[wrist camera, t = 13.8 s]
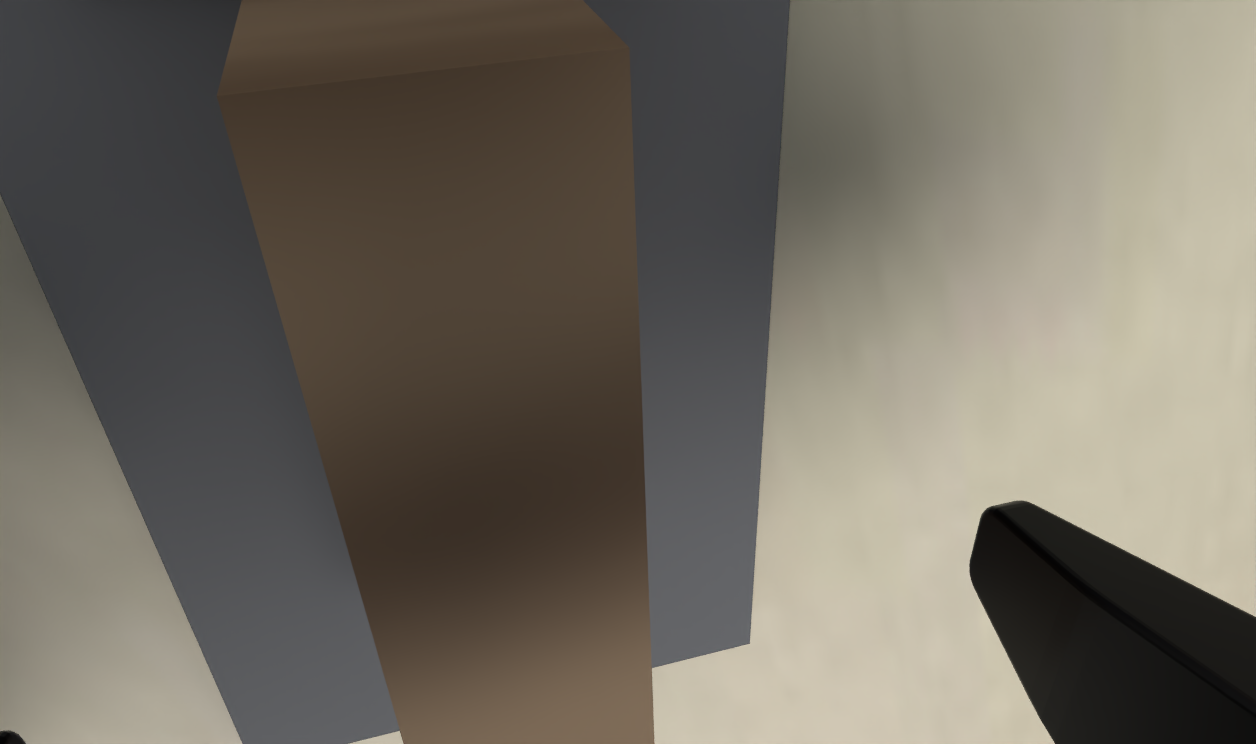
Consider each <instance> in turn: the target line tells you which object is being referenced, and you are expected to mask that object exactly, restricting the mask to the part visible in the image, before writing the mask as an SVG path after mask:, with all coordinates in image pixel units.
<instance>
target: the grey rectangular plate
mask: <svg viewBox="0 0 1256 744" xmlns="http://www.w3.org/2000/svg"><path fill="white" fill-rule="evenodd" d="M241 1H242V0H0V194H1V196H2V199H3V201H4V203H5V206H6V208H7V210H8V212H9V215H10V217H11V219H12V221H13V224H14V226H15V228H16V231H17V233H18V235H19V237H20V240H21V242H22V244H23V246H24V249H25V251H26V253H27V255H28V258H29V260H30V262H31V265H32V267H33V269H34V271H35V274H36V276H37V278H38V280H39V283H40V285H41V287H42V290H43V292H44V294H45V296H46V299H47V301H48V303H49V305H50V308H51V310H52V312H53V314H54V317H55V319H56V321H57V324H58V326H59V328H60V330H61V333H62V335H63V337H64V339H65V342H66V344H67V346H68V349H69V351H70V353H71V355H72V358H73V360H74V362H75V364H76V367H77V369H78V371H79V373H80V376H81V378H82V380H83V383H84V385H85V387H86V389H87V392H88V394H89V396H90V398H91V401H92V403H93V405H94V408H95V410H96V412H97V414H98V417H99V419H100V421H101V423H102V426H103V428H104V430H105V432H106V435H107V437H108V439H109V442H110V444H111V446H112V448H113V451H114V453H115V455H116V457H117V460H118V462H119V464H120V466H121V469H122V471H123V473H124V476H125V478H126V480H127V482H128V485H129V487H130V489H131V491H132V494H133V496H134V498H135V501H136V503H137V505H138V507H139V510H140V512H141V514H142V516H143V519H144V521H145V523H146V525H147V528H148V530H149V532H150V535H151V537H152V539H153V541H154V544H155V546H156V548H157V550H158V553H159V555H160V557H161V560H162V562H163V564H164V566H165V569H166V571H167V573H168V575H169V578H170V580H171V582H172V584H173V587H174V589H175V591H176V594H177V596H178V598H179V600H180V603H181V605H182V607H183V609H184V612H185V614H186V616H187V619H188V621H189V623H190V625H191V628H192V630H193V632H194V634H195V637H196V639H197V641H198V643H199V646H200V648H201V650H202V653H203V655H204V657H205V659H206V662H207V664H208V666H209V668H210V671H211V673H212V675H213V678H214V680H215V682H216V684H217V687H218V689H219V691H220V693H221V696H222V698H223V700H224V702H225V705H226V707H227V709H228V712H229V714H230V716H231V718H232V721H233V723H234V725H235V727H236V730H237V732H238V734H239V736H240V739H241V741H242V743H243V744H348V743H352V742H356V741H360V740H364V739H368V738H372V737H376V736H380V735H384V734H388V733H392V732H396V731H400V729H399V726H398V722H397V719H396V716H395V712H394V709H393V705H392V702H391V698H390V695H389V691H388V688H387V684H386V681H385V677H384V674H383V670H382V667H381V664H380V660H379V657H378V653H377V650H376V646H375V643H374V639H373V636H372V632H371V629H370V625H369V622H368V619H367V615H366V612H365V608H364V605H363V601H362V598H361V594H360V591H359V587H358V584H357V580H356V577H355V574H354V570H353V567H352V563H351V560H350V556H349V553H348V549H347V546H346V542H345V539H344V535H343V532H342V528H341V525H340V522H339V518H338V515H337V511H336V508H335V504H334V501H333V497H332V494H331V490H330V487H329V483H328V480H327V477H326V473H325V470H324V466H323V463H322V459H321V456H320V452H319V449H318V445H317V442H316V438H315V435H314V432H313V428H312V425H311V421H310V418H309V414H308V411H307V407H306V404H305V400H304V397H303V393H302V390H301V386H300V383H299V380H298V376H297V373H296V369H295V366H294V362H293V359H292V355H291V352H290V348H289V345H288V341H287V338H286V335H285V331H284V328H283V324H282V321H281V317H280V314H279V310H278V307H277V303H276V300H275V296H274V293H273V290H272V286H271V283H270V279H269V276H268V272H267V269H266V265H265V262H264V258H263V255H262V251H261V248H260V244H259V241H258V238H257V234H256V231H255V227H254V224H253V220H252V217H251V213H250V210H249V206H248V203H247V199H246V196H245V193H244V189H243V186H242V182H241V179H240V175H239V172H238V168H237V165H236V161H235V158H234V154H233V151H232V148H231V144H230V141H229V137H228V134H227V130H226V127H225V123H224V120H223V116H222V113H221V109H220V106H219V102H218V99H217V93H218V89H219V85H220V81H221V78H222V74H223V70H224V66H225V62H226V58H227V55H228V51H229V47H230V43H231V39H232V36H233V32H234V28H235V24H236V20H237V16H238V13H239V9H240V5H241ZM583 1H584V2H585V3H586V4H587V5H588V6H589V7H590V8H591V9H592V10H593V11H594V12H595V13H596V14H597V15H598V16H599V17H600V18H601V19H602V20H603V21H604V22H605V23H606V24H607V25H608V26H609V27H610V28H611V29H612V30H613V31H614V32H615V33H616V34H617V35H618V36H619V37H620V38H621V40H622V41H623V42H624V43H625V44H626V45H627V46H628V47H629V49H630V77H631V105H632V133H633V161H634V189H635V217H636V245H637V273H638V301H639V329H640V357H641V385H642V413H643V441H644V469H645V497H646V525H647V553H648V581H649V609H650V637H651V665H652V668H654V667H658V666H662V665H666V664H670V663H674V662H678V661H682V660H686V659H690V658H694V657H698V656H702V655H706V654H710V653H714V652H718V651H722V650H726V649H730V648H734V647H738V646H742V645H746V644H750V629H751V613H752V597H753V581H754V565H755V549H756V533H757V517H758V501H759V485H760V469H761V453H762V437H763V421H764V405H765V389H766V373H767V357H768V341H769V325H770V309H771V293H772V277H773V261H774V245H775V229H776V213H777V197H778V181H779V165H780V149H781V133H782V117H783V101H784V85H785V69H786V53H787V37H788V21H789V5H790V0H583Z"/></svg>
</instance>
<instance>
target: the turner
mask: <svg viewBox="0 0 1256 744" xmlns="http://www.w3.org/2000/svg"><path fill="white" fill-rule="evenodd" d="M217 99H218V102H219V106H220V109H221V113H222V116H223V120H224V123H225V127H226V130H227V134H228V137H229V141H230V144H231V148H232V151H233V154H234V158H235V161H236V165H237V168H238V172H239V175H240V179H241V182H242V186H243V189H244V193H245V196H246V199H247V203H248V206H249V210H250V213H251V217H252V220H253V224H254V227H255V231H256V234H257V238H258V241H259V244H260V248H261V251H262V255H263V258H264V262H265V265H266V269H267V272H268V276H269V279H270V283H271V286H272V290H273V293H274V296H275V300H276V303H277V307H278V310H279V314H280V317H281V321H282V324H283V328H284V331H285V335H286V338H287V341H288V345H289V348H290V352H291V355H292V359H293V362H294V366H295V369H296V373H297V376H298V380H299V383H300V386H301V390H302V393H303V397H304V400H305V404H306V407H307V411H308V414H309V418H310V421H311V425H312V428H313V432H314V435H315V438H316V442H317V445H318V449H319V452H320V456H321V459H322V463H323V466H324V470H325V473H326V477H327V480H328V483H329V487H330V490H331V494H332V497H333V501H334V504H335V508H336V511H337V515H338V518H339V522H340V525H341V528H342V532H343V535H344V539H345V542H346V546H347V549H348V553H349V556H350V560H351V563H352V567H353V570H354V574H355V577H356V580H357V584H358V587H359V591H360V594H361V598H362V601H363V605H364V608H365V612H366V615H367V619H368V622H369V625H370V629H371V632H372V636H373V639H374V643H375V646H376V650H377V653H378V657H379V660H380V664H381V667H382V670H383V674H384V677H385V681H386V684H387V688H388V691H389V695H390V698H391V702H392V705H393V709H394V712H395V716H396V719H397V722H398V726H399V729H400V733H401V736H402V740H403V743H404V744H654V721H653V693H652V665H651V637H650V609H649V581H648V553H647V525H646V497H645V469H644V441H643V413H642V385H641V357H640V329H639V301H638V273H637V245H636V217H635V189H634V161H633V133H632V105H631V77H630V49H629V47H628V46H627V45H626V44H625V43H624V42H623V41H622V40H621V38H620V37H619V36H618V35H617V34H616V33H615V32H614V31H613V30H612V29H611V28H610V27H609V26H608V25H607V24H606V23H605V22H604V21H603V20H602V19H601V18H600V17H599V16H598V15H597V14H596V13H595V12H594V11H593V10H592V9H591V8H590V7H589V6H588V5H587V4H586V3H585V2H584V1H583V0H242V1H241V5H240V9H239V13H238V16H237V20H236V24H235V28H234V32H233V36H232V39H231V43H230V47H229V51H228V55H227V58H226V62H225V66H224V70H223V74H222V78H221V81H220V85H219V89H218V93H217Z"/></svg>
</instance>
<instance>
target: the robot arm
mask: <svg viewBox="0 0 1256 744" xmlns="http://www.w3.org/2000/svg"><path fill="white" fill-rule="evenodd" d="M969 567H970V577H971V581H972V584H973V586H974V589H975V591H976V593H977V595H978V597H979V599H980V601H981V603H982V605H983V607H984V609H985V611H986V613H987V615H988V617H989V619H990V621H991V623H992V625H993V627H994V629H995V631H996V633H997V635H998V637H999V639H1000V641H1001V643H1002V645H1003V647H1004V649H1005V651H1006V653H1007V655H1008V657H1009V659H1010V661H1011V663H1012V665H1013V667H1014V669H1015V671H1016V673H1017V675H1018V677H1019V679H1020V681H1021V683H1022V685H1023V687H1024V689H1025V691H1026V693H1027V695H1028V697H1029V699H1030V701H1031V703H1032V704H1033V706H1034V708H1035V710H1036V712H1037V714H1038V716H1039V718H1040V719H1041V721H1042V723H1043V724H1044V726H1045V728H1046V729H1047V731H1048V733H1049V734H1050V736H1051V738H1052V739H1053V741H1054V742H1055V744H1256V617H1255V616H1253V615H1251V614H1249V613H1247V612H1245V611H1243V610H1241V609H1239V608H1237V607H1235V606H1233V605H1231V604H1229V603H1227V602H1225V601H1223V600H1221V599H1219V598H1217V597H1215V596H1213V595H1211V594H1209V593H1207V592H1205V591H1203V590H1201V589H1200V588H1198V587H1196V586H1194V585H1192V584H1190V583H1188V582H1186V581H1184V580H1182V579H1180V578H1178V577H1176V576H1174V575H1172V574H1170V573H1168V572H1166V571H1164V570H1162V569H1160V568H1158V567H1156V566H1154V565H1152V564H1150V563H1148V562H1146V561H1144V560H1142V559H1141V558H1139V557H1137V556H1135V555H1133V554H1131V553H1129V552H1127V551H1125V550H1123V549H1121V548H1119V547H1117V546H1115V545H1113V544H1111V543H1109V542H1107V541H1105V540H1103V539H1101V538H1099V537H1097V536H1095V535H1093V534H1091V533H1089V532H1087V531H1085V530H1083V529H1082V528H1080V527H1078V526H1076V525H1074V524H1072V523H1070V522H1068V521H1066V520H1064V519H1062V518H1060V517H1058V516H1056V515H1054V514H1052V513H1050V512H1048V511H1046V510H1044V509H1042V508H1040V507H1038V506H1036V505H1034V504H1032V503H1030V502H1027V501H1013V502H1008V503H1004V504H1000V505H995V506H991V507H989V508H987V509H986V510H985V511H984V512H983V513H982V515H981V518H980V522H979V526H978V530H977V534H976V538H975V542H974V546H973V550H972V554H971V558H970V564H969ZM0 744H26V743H25V742H24V740H23V739H22V738H21V737H20V736H19V734H17V733H15V732H13V731H0Z"/></svg>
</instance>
